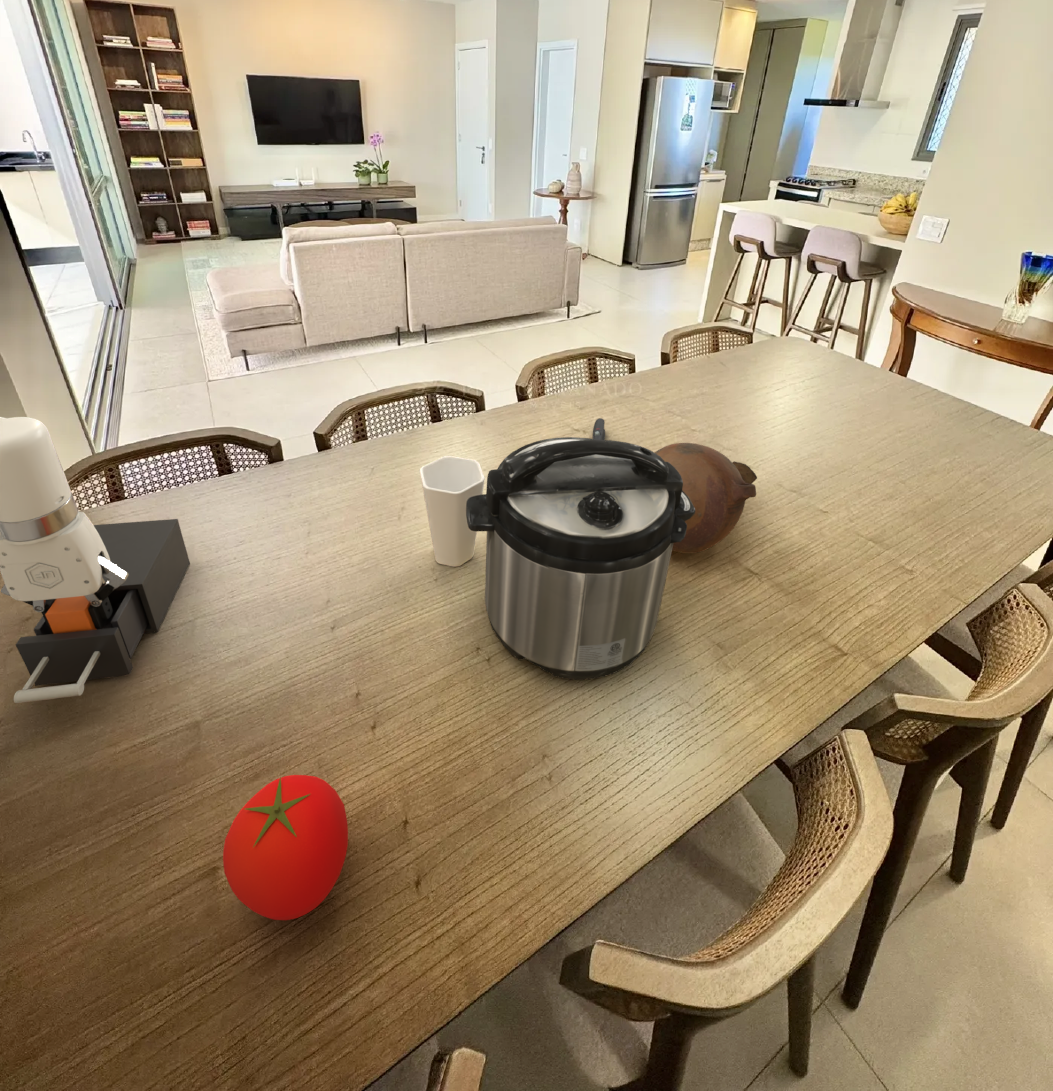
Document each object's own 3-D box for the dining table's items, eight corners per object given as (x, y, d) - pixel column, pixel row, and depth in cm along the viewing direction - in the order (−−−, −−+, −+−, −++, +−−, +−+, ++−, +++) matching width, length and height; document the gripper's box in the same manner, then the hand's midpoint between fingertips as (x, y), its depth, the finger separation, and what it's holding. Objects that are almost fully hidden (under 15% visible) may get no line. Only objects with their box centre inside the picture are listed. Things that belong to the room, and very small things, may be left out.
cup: (488, 569, 102) (489, 488, 95) (429, 580, 99) (425, 497, 92) (474, 528, 112) (474, 452, 104) (421, 536, 109) (417, 459, 101)
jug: (673, 588, 100) (760, 541, 119) (726, 502, 91) (811, 466, 110) (594, 508, 112) (685, 477, 132) (634, 425, 103) (725, 405, 122)
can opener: (606, 470, 131) (609, 449, 128) (575, 465, 132) (577, 444, 130) (614, 432, 146) (617, 412, 144) (587, 427, 148) (589, 408, 145)
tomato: (373, 838, 65) (364, 767, 59) (318, 964, 55) (300, 893, 50) (283, 808, 67) (265, 736, 61) (215, 923, 58) (187, 851, 52)
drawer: (109, 717, 75) (91, 675, 71) (7, 730, 73) (-16, 688, 69) (165, 600, 92) (153, 562, 89) (84, 608, 90) (69, 569, 87)
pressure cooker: (683, 585, 101) (717, 423, 87) (639, 727, 77) (676, 538, 63) (524, 531, 111) (531, 380, 97) (444, 641, 88) (438, 463, 74)
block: (56, 639, 77) (44, 614, 75) (73, 613, 81) (63, 588, 79) (94, 635, 78) (83, 610, 76) (109, 609, 82) (100, 585, 80)
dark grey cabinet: (158, 632, 88) (142, 584, 84) (63, 642, 86) (42, 593, 81) (190, 563, 101) (177, 518, 96) (108, 570, 98) (92, 525, 94)
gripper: (-64, 542, 67) (-6, 654, 75) (101, 529, 70) (140, 638, 78) (-21, 502, 74) (28, 608, 82) (127, 491, 76) (161, 596, 85)
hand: (82, 622), depth 80 cm, fingers closed on block, 4 cm apart
